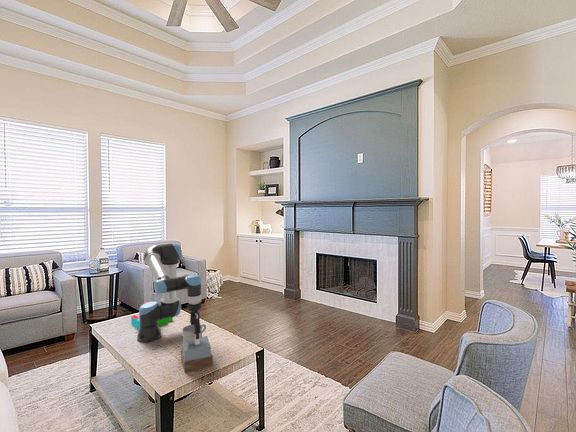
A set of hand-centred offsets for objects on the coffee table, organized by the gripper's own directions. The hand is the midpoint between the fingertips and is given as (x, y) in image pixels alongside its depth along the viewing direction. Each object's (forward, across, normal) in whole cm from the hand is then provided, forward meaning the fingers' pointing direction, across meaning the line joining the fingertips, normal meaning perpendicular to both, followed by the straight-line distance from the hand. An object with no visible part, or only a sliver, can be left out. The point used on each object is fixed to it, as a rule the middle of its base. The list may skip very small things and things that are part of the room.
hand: (195, 340), depth 174 cm
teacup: (0, 0, 0) cm, 0 cm away
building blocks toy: (+14, -77, -18) cm, 81 cm away
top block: (+8, 0, 0) cm, 8 cm away
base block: (+14, 0, 0) cm, 14 cm away
